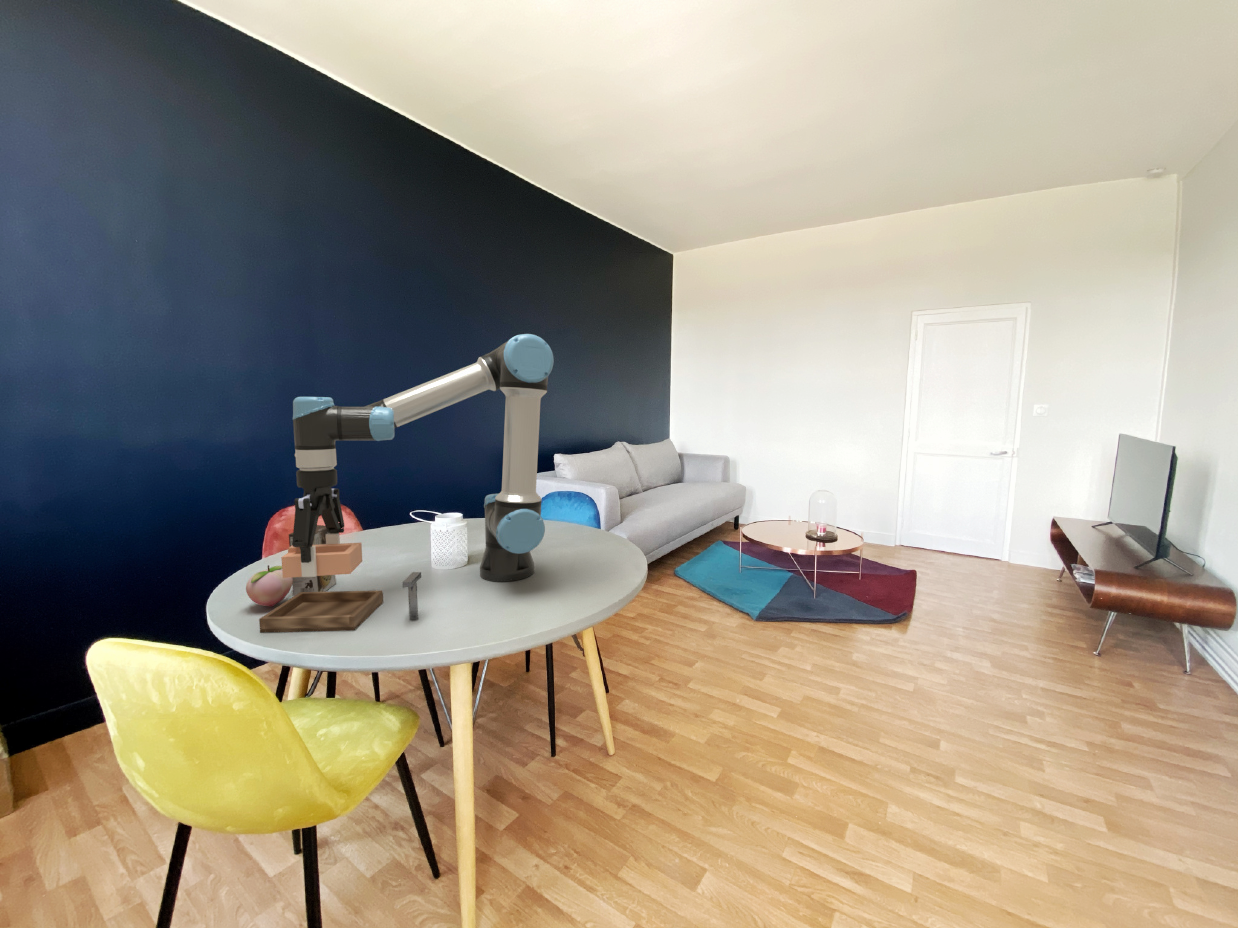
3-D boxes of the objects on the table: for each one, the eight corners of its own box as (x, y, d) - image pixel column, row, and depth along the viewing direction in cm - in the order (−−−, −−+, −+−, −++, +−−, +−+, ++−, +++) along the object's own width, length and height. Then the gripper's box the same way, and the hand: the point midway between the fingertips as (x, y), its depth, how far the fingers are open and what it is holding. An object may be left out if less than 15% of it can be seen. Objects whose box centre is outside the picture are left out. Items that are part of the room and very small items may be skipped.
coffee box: (311, 584, 130) (307, 524, 128) (336, 583, 131) (333, 524, 129) (291, 597, 121) (287, 533, 119) (319, 596, 122) (314, 533, 120)
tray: (383, 602, 119) (382, 590, 118) (354, 630, 104) (353, 616, 103) (301, 604, 117) (300, 592, 117) (260, 632, 102) (259, 618, 102)
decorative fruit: (267, 598, 120) (264, 558, 119) (300, 599, 120) (297, 559, 119) (237, 614, 111) (233, 571, 110) (272, 615, 111) (269, 572, 110)
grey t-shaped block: (422, 612, 113) (421, 572, 111) (413, 625, 106) (411, 581, 105) (414, 613, 112) (412, 572, 111) (404, 625, 106) (402, 582, 105)
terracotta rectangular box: (362, 561, 115) (361, 538, 114) (350, 573, 106) (349, 549, 106) (300, 564, 112) (298, 541, 112) (282, 577, 103) (280, 552, 103)
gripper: (325, 462, 117) (330, 553, 120) (265, 475, 95) (273, 586, 98) (357, 462, 118) (362, 553, 120) (306, 475, 96) (312, 586, 98)
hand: (322, 568), depth 109 cm, fingers closed on terracotta rectangular box, 9 cm apart
